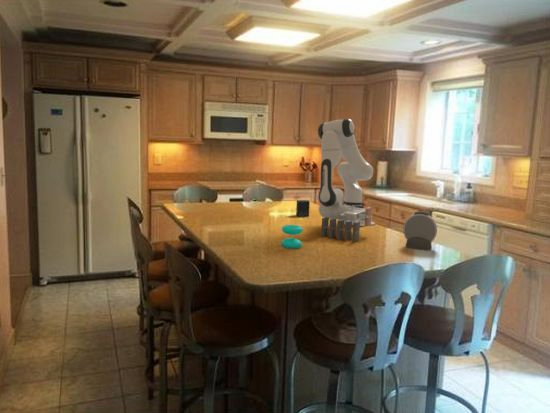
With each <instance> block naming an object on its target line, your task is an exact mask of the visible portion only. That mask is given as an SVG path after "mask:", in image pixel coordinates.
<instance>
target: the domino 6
mask: <svg viewBox="0 0 550 413" xmlns="http://www.w3.org/2000/svg"><path fill="white" fill-rule="evenodd" d="M364 209H365V215H368V218H365V226H364V227H369V226H372V225H371V217H372V216H371V213H372V209H373V208H372V207H370V206H368V207H365V208H364Z"/></svg>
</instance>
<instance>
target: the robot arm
mask: <svg viewBox="0 0 550 413" xmlns="http://www.w3.org/2000/svg"><path fill="white" fill-rule="evenodd" d="M355 127H356V126H355V123H354V121H353V120H352V119H350V118H344V119H334V120H332V121H327V122H322V123H320V124H319V125H318V128H317V135H318V137H319V139H320V140H321V143H320V144H321V145H320V146H321V149H320V150H321V164H320V188H319V191H318V196H317V198H318V202H319V206H318V212H319V215H320V216H321V217H322V218H325V217H328V218H329V220H330V219H333V218H335V219H336V220H337V221H338V220H341V219H343V220H344V225H345V221H349V220H350V221H352V226H353V223H354V222H357V221H358V222H360V227H366V226H365V218H368V215H365V209H366V208H365V207H367V206H368V203H367V202H363V189H362V187H361V186H360V185H359V183H358V181H369V180H371V178H373V175H374V167H373V165H371V164H370V163H368V162H367V161H366V160H365V158H364V157H363V155H362V154H361V151H360V150H359V148H358V144H357V141H356V138H355V134H354V133H355V130H356V128H355ZM341 159H343V160H344V161H342V162H341ZM336 167H337V169H336V170H337V171H336V172H337V175H338V176H339V178H340V179H341V180H342V182H343V187H344V188H343V189H344V191H343V190H342V189H341V188H338V187H333V171H334V169H335V168H336ZM372 218H373V213H372V212H371V225H370V226H374V225H376V223H375V221H372V220H373V219H372Z"/></svg>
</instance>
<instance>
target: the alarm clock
mask: <svg viewBox="0 0 550 413" xmlns="http://www.w3.org/2000/svg"><path fill="white" fill-rule="evenodd" d="M402 230H403V231H402V232H403V235H404V238H405V239H406V243H405V247H404V248H406V249H412V250H419V251H432V247H433V246H432V242H433V241H434V240H435V239H436V237H437V233H438V225H437V222H436V220H435V219H434V218H433V217H432V216H431V215H429V213H428V212H425V211H420V210H419V211H415V212H414V213H413V214H411V215H410V216H409V217H408V218H407V219H406V220H405V222H404V223H403V227H402Z"/></svg>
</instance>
